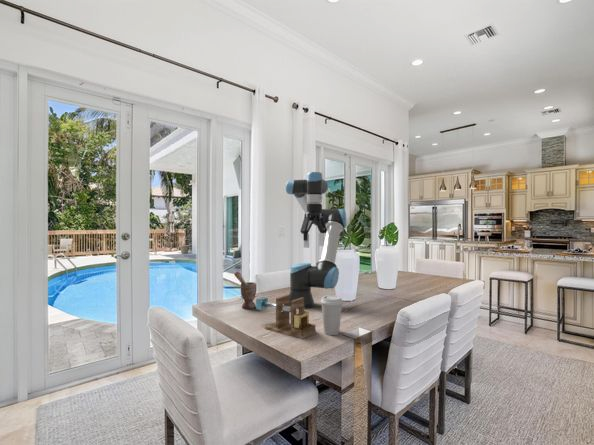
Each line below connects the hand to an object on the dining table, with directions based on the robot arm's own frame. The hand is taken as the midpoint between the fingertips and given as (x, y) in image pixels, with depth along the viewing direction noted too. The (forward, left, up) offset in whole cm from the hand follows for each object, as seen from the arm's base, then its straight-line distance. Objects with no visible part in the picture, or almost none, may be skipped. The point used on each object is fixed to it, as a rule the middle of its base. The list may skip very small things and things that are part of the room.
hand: (314, 246), depth 154 cm
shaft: (-6, -22, -28) cm, 36 cm away
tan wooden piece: (+8, -22, -30) cm, 38 cm away
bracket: (+2, -22, -35) cm, 41 cm away
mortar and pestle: (-38, -9, -35) cm, 52 cm away
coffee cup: (+18, -14, -35) cm, 41 cm away
